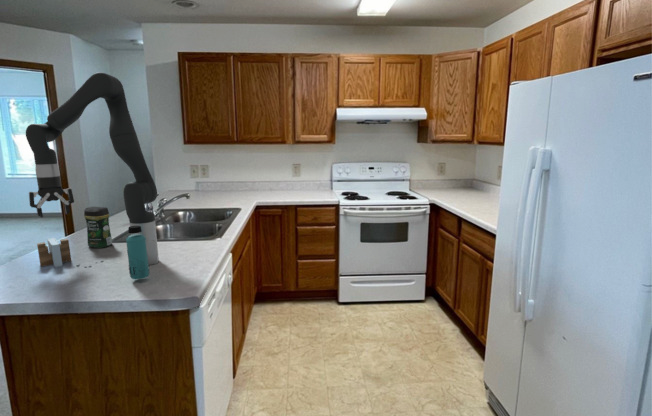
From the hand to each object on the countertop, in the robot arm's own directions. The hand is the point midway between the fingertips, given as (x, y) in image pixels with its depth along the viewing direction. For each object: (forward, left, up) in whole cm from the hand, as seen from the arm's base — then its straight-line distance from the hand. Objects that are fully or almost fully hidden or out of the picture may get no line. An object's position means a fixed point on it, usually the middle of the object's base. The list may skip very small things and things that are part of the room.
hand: (54, 215), depth 151 cm
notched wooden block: (-3, +2, -19) cm, 19 cm away
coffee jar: (+11, -17, -19) cm, 28 cm away
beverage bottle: (-45, -17, -19) cm, 52 cm away
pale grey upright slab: (-3, +2, -19) cm, 19 cm away
